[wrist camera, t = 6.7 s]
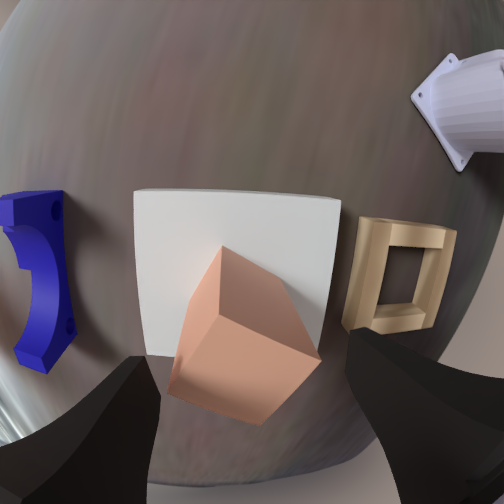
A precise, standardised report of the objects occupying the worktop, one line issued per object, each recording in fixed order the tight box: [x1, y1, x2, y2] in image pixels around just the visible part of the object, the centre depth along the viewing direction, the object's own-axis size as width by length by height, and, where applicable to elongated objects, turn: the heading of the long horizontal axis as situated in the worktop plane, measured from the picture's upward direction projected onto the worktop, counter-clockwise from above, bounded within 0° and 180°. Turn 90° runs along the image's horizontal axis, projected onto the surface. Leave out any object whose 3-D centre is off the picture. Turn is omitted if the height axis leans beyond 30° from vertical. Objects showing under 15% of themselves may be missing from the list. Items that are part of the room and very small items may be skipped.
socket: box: [341, 216, 457, 334], centre depth 19 cm, size 9×9×2 cm
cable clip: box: [0, 190, 77, 374], centre depth 15 cm, size 12×4×6 cm, turn 175°
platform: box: [134, 189, 341, 357], centre depth 17 cm, size 12×11×2 cm
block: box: [167, 245, 321, 426], centre depth 13 cm, size 4×4×8 cm
